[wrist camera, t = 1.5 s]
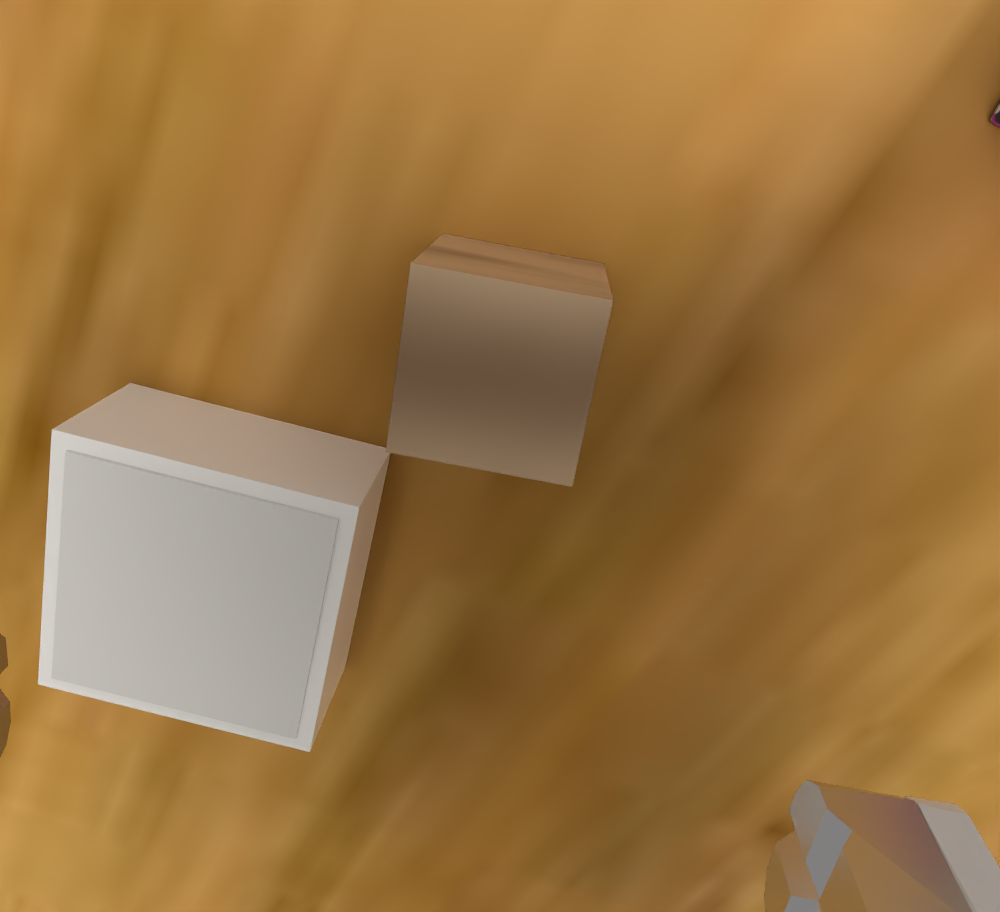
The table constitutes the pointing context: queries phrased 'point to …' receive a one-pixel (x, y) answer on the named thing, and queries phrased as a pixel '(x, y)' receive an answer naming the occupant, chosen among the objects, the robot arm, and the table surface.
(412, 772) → the table surface
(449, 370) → the oak block
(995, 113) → the candy bar box
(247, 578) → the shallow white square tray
